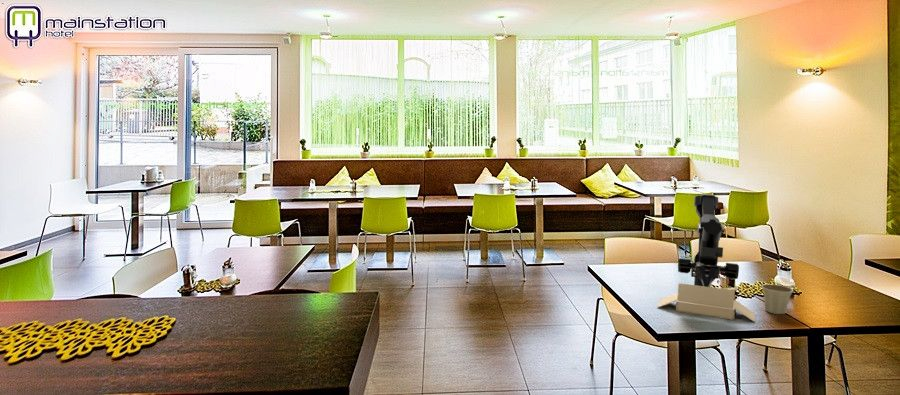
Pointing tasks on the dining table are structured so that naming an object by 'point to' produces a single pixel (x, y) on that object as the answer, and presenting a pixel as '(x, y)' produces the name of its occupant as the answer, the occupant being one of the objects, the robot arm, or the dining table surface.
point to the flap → (706, 295)
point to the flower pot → (776, 298)
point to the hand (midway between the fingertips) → (705, 289)
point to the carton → (707, 308)
